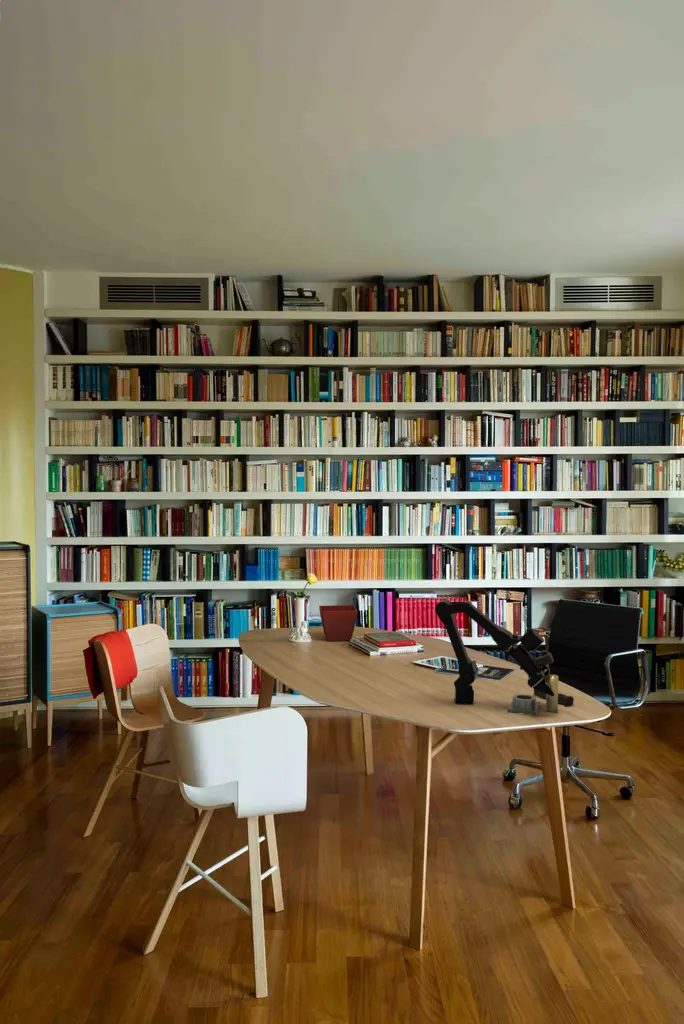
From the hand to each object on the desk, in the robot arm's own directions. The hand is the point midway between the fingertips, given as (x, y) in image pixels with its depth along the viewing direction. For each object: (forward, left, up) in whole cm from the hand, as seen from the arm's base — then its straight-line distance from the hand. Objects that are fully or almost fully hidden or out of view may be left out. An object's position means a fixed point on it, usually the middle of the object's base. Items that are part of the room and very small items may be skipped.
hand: (555, 692), depth 278 cm
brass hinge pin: (-1, 0, -7) cm, 7 cm away
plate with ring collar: (-10, +4, -7) cm, 13 cm away
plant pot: (-81, +132, -7) cm, 156 cm away
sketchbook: (-20, +61, -8) cm, 65 cm away
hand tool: (+2, +15, -8) cm, 17 cm away
